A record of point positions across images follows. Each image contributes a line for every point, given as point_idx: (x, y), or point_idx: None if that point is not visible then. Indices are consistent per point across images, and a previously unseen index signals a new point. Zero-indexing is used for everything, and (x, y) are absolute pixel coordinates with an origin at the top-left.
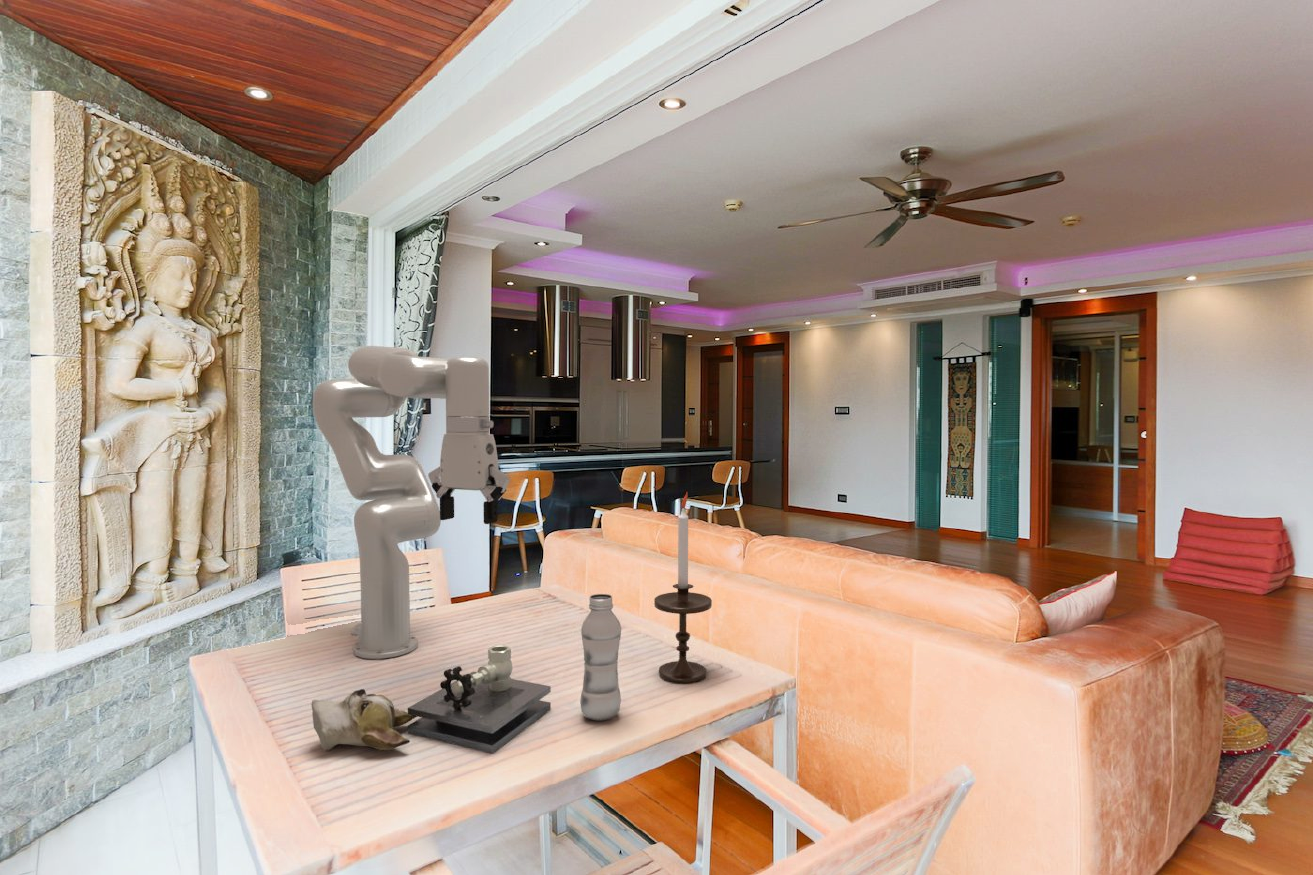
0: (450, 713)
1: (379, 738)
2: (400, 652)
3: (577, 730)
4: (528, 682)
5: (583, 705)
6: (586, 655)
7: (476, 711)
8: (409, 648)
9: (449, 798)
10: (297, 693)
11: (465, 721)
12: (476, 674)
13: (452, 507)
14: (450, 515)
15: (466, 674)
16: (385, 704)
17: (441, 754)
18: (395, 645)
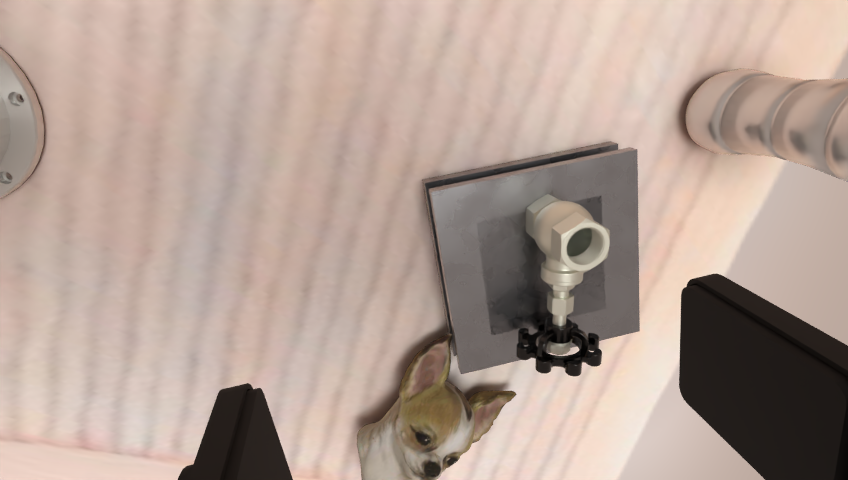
0: None
1: (487, 430)
2: (40, 130)
3: (695, 177)
4: (583, 162)
5: (714, 152)
6: (804, 164)
7: (579, 312)
8: (30, 96)
9: (635, 404)
10: (110, 389)
11: None
12: (568, 305)
13: (252, 476)
14: (269, 441)
15: (596, 359)
16: (468, 431)
17: None
18: (3, 132)
